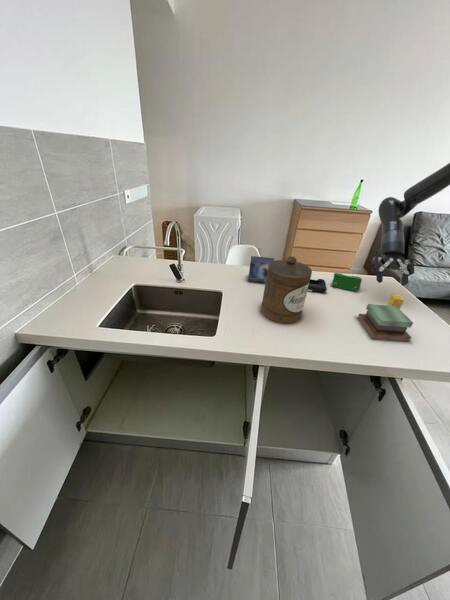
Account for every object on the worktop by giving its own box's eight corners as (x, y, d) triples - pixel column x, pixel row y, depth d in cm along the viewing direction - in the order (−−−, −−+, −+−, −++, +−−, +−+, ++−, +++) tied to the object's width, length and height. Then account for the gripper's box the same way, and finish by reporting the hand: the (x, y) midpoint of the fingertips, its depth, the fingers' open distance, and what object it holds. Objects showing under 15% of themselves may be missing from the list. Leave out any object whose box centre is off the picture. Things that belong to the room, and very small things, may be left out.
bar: (390, 316, 93) (400, 295, 88) (393, 320, 90) (404, 300, 86) (382, 314, 93) (391, 294, 89) (385, 319, 91) (395, 298, 86)
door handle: (283, 268, 121) (280, 280, 107) (325, 275, 116) (327, 288, 102) (282, 274, 122) (279, 287, 108) (323, 281, 118) (325, 295, 104)
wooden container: (290, 329, 83) (304, 270, 71) (253, 312, 90) (261, 257, 79) (306, 310, 93) (321, 256, 82) (272, 297, 101) (281, 246, 89)
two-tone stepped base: (389, 320, 90) (397, 304, 87) (408, 341, 80) (418, 324, 77) (357, 317, 91) (363, 302, 87) (371, 338, 81) (379, 322, 77)
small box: (247, 282, 111) (250, 260, 106) (248, 276, 117) (250, 255, 111) (271, 284, 111) (274, 263, 105) (270, 278, 116) (274, 257, 111)
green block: (349, 294, 115) (363, 279, 111) (350, 297, 109) (365, 281, 106) (327, 280, 117) (340, 264, 113) (328, 282, 111) (341, 266, 107)
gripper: (378, 238, 93) (377, 278, 90) (418, 242, 91) (419, 282, 88) (368, 247, 100) (367, 284, 97) (405, 251, 99) (406, 288, 95)
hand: (392, 283), depth 92 cm, fingers open, 8 cm apart
